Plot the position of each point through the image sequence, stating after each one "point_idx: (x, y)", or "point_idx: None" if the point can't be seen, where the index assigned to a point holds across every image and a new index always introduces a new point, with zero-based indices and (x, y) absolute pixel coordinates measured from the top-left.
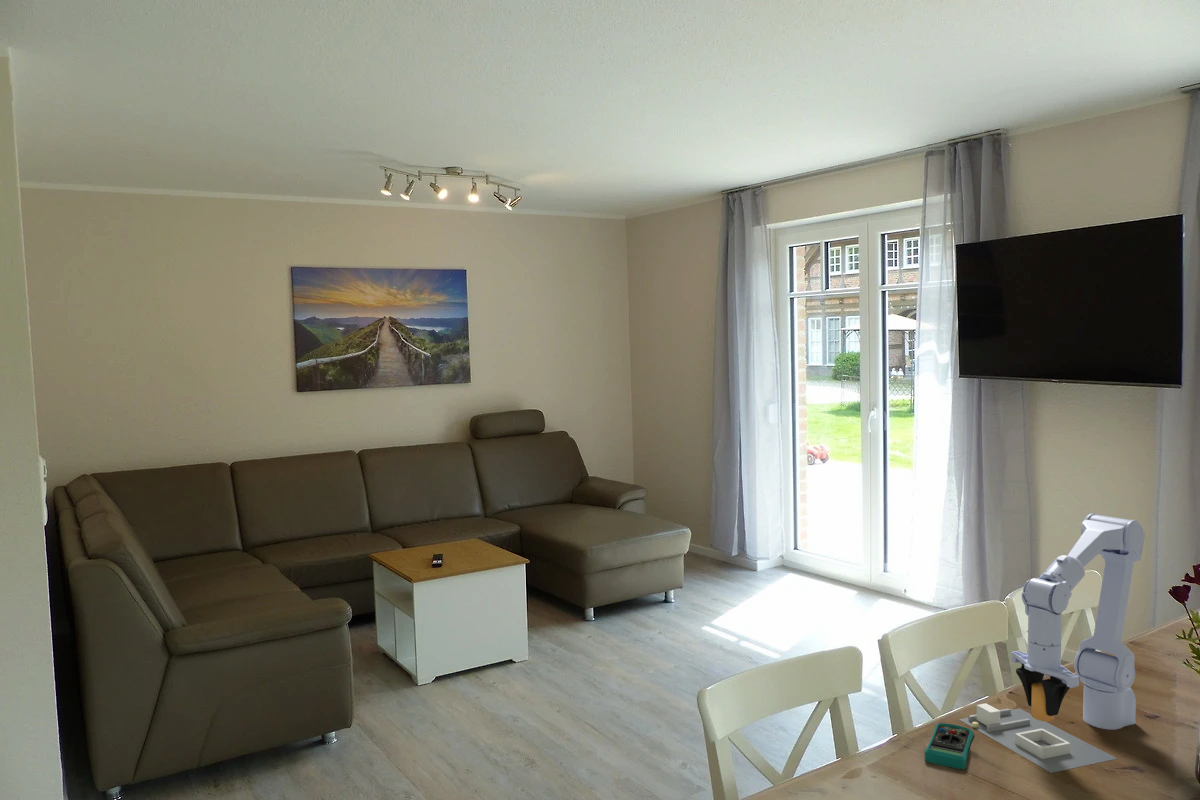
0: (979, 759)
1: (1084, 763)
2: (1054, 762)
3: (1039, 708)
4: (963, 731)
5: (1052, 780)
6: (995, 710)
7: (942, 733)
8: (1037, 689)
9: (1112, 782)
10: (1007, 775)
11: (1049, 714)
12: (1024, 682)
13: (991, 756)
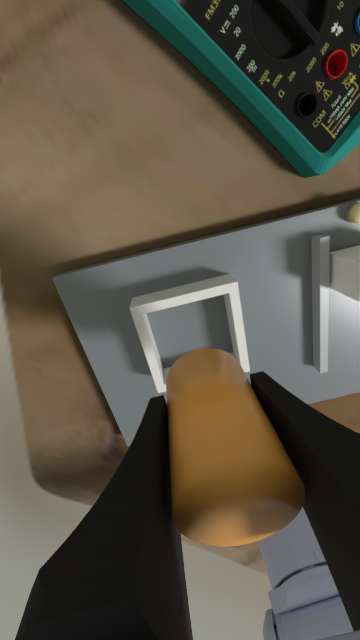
0: (184, 116)
1: (106, 380)
2: (111, 317)
3: (185, 389)
4: (328, 124)
5: (51, 273)
6: None
7: (343, 2)
8: (211, 468)
9: (52, 394)
10: (74, 153)
11: (148, 402)
12: (332, 446)
13: (197, 174)
